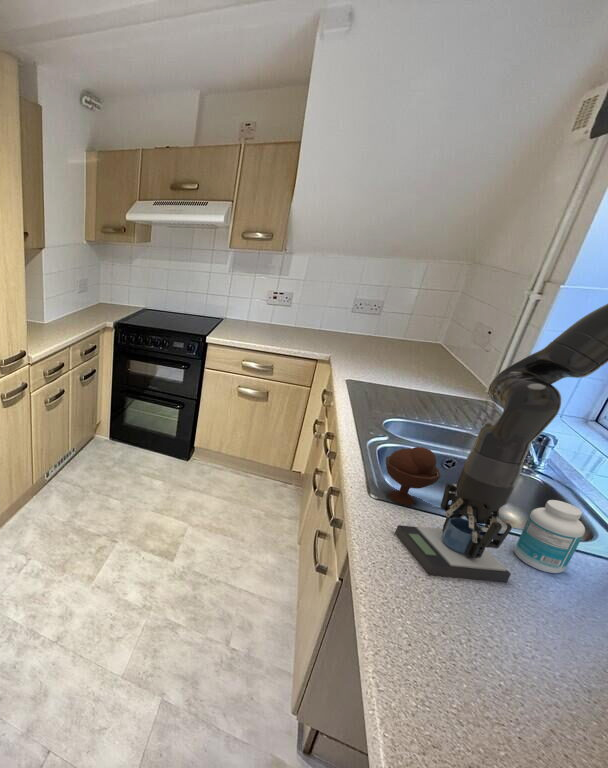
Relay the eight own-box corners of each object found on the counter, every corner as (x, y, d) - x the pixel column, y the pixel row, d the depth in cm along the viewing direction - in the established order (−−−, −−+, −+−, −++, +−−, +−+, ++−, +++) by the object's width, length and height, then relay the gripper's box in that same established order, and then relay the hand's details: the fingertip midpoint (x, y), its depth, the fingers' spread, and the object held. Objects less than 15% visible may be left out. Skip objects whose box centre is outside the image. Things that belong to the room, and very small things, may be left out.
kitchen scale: (462, 539, 91) (466, 529, 90) (507, 582, 79) (512, 571, 78) (394, 533, 92) (398, 523, 91) (429, 575, 81) (433, 564, 80)
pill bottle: (534, 547, 89) (561, 494, 84) (574, 574, 82) (605, 518, 77) (502, 548, 88) (527, 495, 83) (540, 576, 81) (569, 520, 76)
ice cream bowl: (424, 493, 106) (442, 442, 101) (430, 518, 97) (451, 463, 92) (375, 481, 111) (391, 431, 106) (377, 503, 102) (394, 450, 97)
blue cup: (463, 538, 87) (472, 518, 85) (484, 558, 82) (494, 538, 80) (434, 535, 88) (441, 516, 86) (453, 555, 82) (461, 535, 80)
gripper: (544, 499, 71) (508, 573, 77) (481, 456, 85) (454, 523, 91) (497, 495, 72) (465, 569, 78) (442, 453, 86) (418, 519, 91)
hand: (459, 544), depth 84 cm, fingers open, 6 cm apart
